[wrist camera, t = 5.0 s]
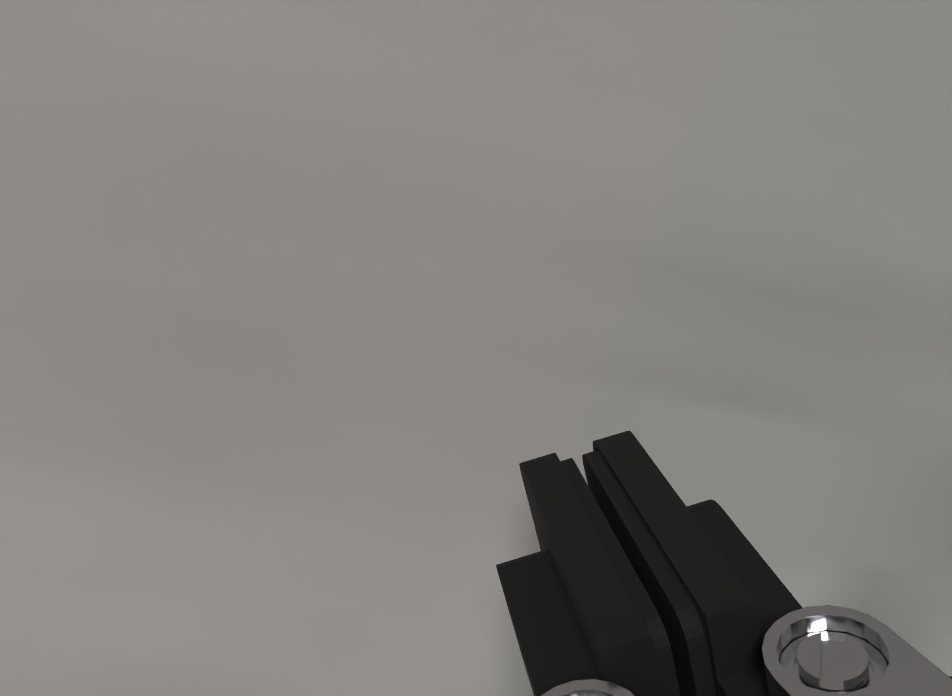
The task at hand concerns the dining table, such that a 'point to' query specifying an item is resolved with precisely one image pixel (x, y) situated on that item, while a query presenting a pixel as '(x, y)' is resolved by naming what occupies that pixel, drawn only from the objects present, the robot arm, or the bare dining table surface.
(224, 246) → the dining table surface
